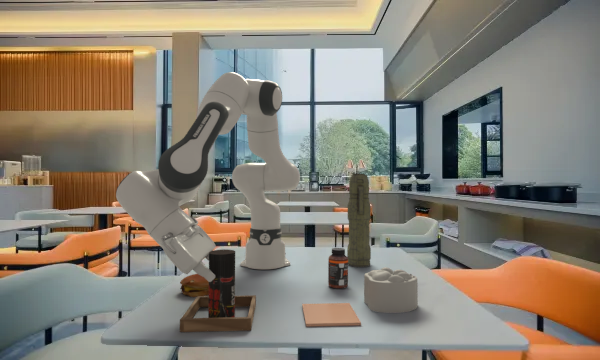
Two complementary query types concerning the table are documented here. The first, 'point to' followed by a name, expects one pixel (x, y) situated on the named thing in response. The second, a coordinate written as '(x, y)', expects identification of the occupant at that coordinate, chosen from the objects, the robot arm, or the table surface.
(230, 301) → the deodorant
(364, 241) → the olive green pillar
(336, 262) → the supplement bottle
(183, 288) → the burger
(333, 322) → the coaster
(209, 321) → the corral
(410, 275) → the lumpy-topped squat cylinder
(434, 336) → the table surface
